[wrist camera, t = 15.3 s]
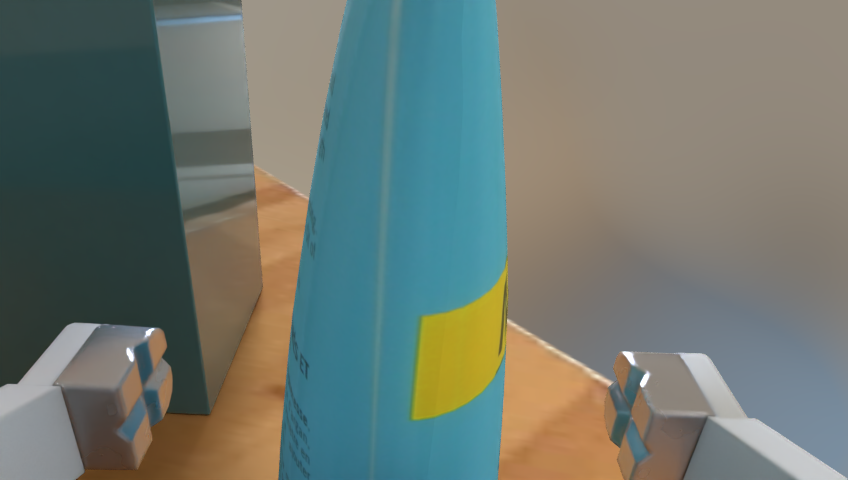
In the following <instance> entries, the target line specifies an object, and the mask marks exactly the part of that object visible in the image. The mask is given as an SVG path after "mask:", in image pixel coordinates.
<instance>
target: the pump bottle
mask: <svg viewBox="0 0 848 480" xmlns="http://www.w3.org/2000/svg"><path fill="white" fill-rule="evenodd" d="M262 287H263V283H262V270H261V257H260V243H259V230H258V217H257V203H256V190H255V177H254V163H253V151H252V137H251V124H250V110H249V98H248V84H247V70H246V58H245V43H244V32H243V17H242V4H241V0H0V387H2V386H5V385H7V384H18V383H19V381H20V380H21V379H22V378H23V377H24V375H25V374H26V373H27V372H28V371H29V370H30V368H31V367H32V366H33V365H34V364H35V362H36V361H37V360H38V359H39V358H40V357H41V355H42V354H43V353H44V352H45V351H46V349H47V348H48V347H49V346H50V345H51V343H52V342H53V341H54V340H55V339H56V338H57V336H58V335H59V334H60V333H61V332H62V330H63V329H64V328H65V327H66V326H67V325H70V324H72V323H91V324H101V325H103V324H110V325H124V326H138V327H152V328H160V329H161V330H162V331H164V334H165V339H166V343H167V348H166V350H165V352H164V354H163V355H162V357H161V358H162V359H163V360H164V361H166V362H167V363H168V364H169V365H170V366H171V371H172V394H171V398H170V403H169V407H168V409H167V411H166V413H179V414H201V415H209V414H210V413H211V411H212V408H213V406H214V403H215V401H216V398H217V396H218V394H219V391H220V389H221V386H222V384H223V382H224V379H225V377H226V374H227V372H228V370H229V367H230V365H231V362H232V360H233V357H234V355H235V353H236V350H237V348H238V345H239V343H240V341H241V338H242V336H243V333H244V331H245V328H246V326H247V324H248V321H249V319H250V316H251V314H252V312H253V309H254V307H255V304H256V302H257V300H258V297H259V295H260V292H261V290H262Z"/></svg>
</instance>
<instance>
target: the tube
mask: <svg viewBox="0 0 848 480" xmlns="http://www.w3.org/2000/svg"><path fill="white" fill-rule="evenodd" d="M500 79H501V78H500V61H499V44H498V28H497V13H496V2H495V0H347V2H346V7H345V12H344V16H343V20H342V24H341V29H340V34H339V39H338V44H337V49H336V54H335V59H334V64H333V69H332V74H331V79H330V84H329V89H328V94H327V99H326V104H325V109H324V115H323V121H322V126H321V132H320V138H319V144H318V150H317V156H316V162H315V167H314V174H313V179H312V185H311V190H310V197H309V204H308V211H307V218H306V225H305V232H304V239H303V246H302V252H301V259H300V266H299V273H298V280H297V287H296V294H295V301H294V308H293V316H292V325H291V335H290V344H289V354H288V364H287V376H286V387H285V398H284V410H283V421H282V432H281V447H280V463H279V479H278V480H498V469H499V455H500V442H501V427H502V412H503V397H504V377H505V355H506V331H507V311H508V282H507V281H508V280H507V279H508V278H507V276H508V274H507V273H508V267H507V266H508V264H507V263H508V262H507V261H508V258H507V222H506V190H505V189H506V187H505V162H504V140H503V119H502V97H501V80H500Z"/></svg>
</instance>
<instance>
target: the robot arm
mask: <svg viewBox="0 0 848 480" xmlns="http://www.w3.org/2000/svg"><path fill="white" fill-rule="evenodd" d="M166 348H167V343H166V339H165V334H164V331H162V330H161V329H160V328H152V327H138V326H124V325H110V324H103V325H101V324H91V323H72V324H70V325H67V326H66V327H65V328H64V329H63V330H62V332H61V333H60V334H59V335H58V336H57V338H56V339H55V340H54V341H53V342H52V343H51V345H50V346H49V347H48V348H47V349H46V351H45V352H44V353H43V354H42V355H41V357H40V358H39V359H38V360H37V361H36V362H35V364H34V365H33V366H32V367H31V368H30V370H29V371H28V372H27V373H26V374H25V375H24V377H23V378H22V379H21V380H20V381H19V383H18V384H7V385H5V386H2V387H0V480H76V479H77V478H78V477H79V476H81V475H82V474H83V473H84V472H85V470H84V469H100V470H137V469H138V467H139V465H140V463H141V461H142V459H143V457H144V455H145V453H146V451H147V449H148V447H149V445H150V444H151V442H152V440H153V438H152V433H151V427H152V426H154V425H155V424H157V423H158V422H160V421H161V420H162V419H163V417H164V415H165V413H166V411H167V409H168V407H169V403H170V398H171V394H172V371H171V366H170V365H169V364H168V363H167V362H166V361H164V360H163V359H162V358H161V357H162V355H163V354H164V352H165V350H166ZM613 369H614V372H615V374H616V377H617V381H615V382H614V383H613V384H612V385H611V386H609V387H608V390H607V394H606V398H605V410H604V418H605V424H606V429H607V432H608V435H609V438H610V440H611V441H612V442H613V443H614V444H616V445H617V446H618V447H619V448H620V451H619V454H618V458H617V461H618V464H619V467H620V470H621V473H622V476H623V478H624V480H848V479H847V478H846V477H844V476H843V475H841V474H840V473H838V472H836V471H835V470H834V469H832V468H831V467H829V466H828V465H826V464H825V463H823V462H821V461H820V460H818V459H817V458H815V457H814V456H812V455H811V454H809V453H808V452H806V451H805V450H803V449H802V448H800V447H799V446H797V445H796V444H794V443H793V442H791V441H790V440H788V439H786V438H785V437H783V436H782V435H780V434H779V433H777V432H776V431H774V430H773V429H771V428H770V427H768V426H767V425H765V424H764V423H762V422H761V421H759V420H757V419H753V418H747V416H746V415H745V413H744V411H743V410H742V408H741V407H740V405H739V404H738V402H737V400H736V399H735V397H734V396H733V394H732V393H731V391H730V389H729V388H728V386H727V385H726V383H725V382H724V380H723V378H722V377H721V375H720V374H719V372H718V370H717V369H716V367H715V366H714V364H713V363H712V361H711V359H710V358H709V357H708V356H706V355H705V354H698V353H675V354H670V353H647V352H624V351H621V352H620V353H619V355H618V356H617V358H616V361H615V364H614V368H613Z"/></svg>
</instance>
